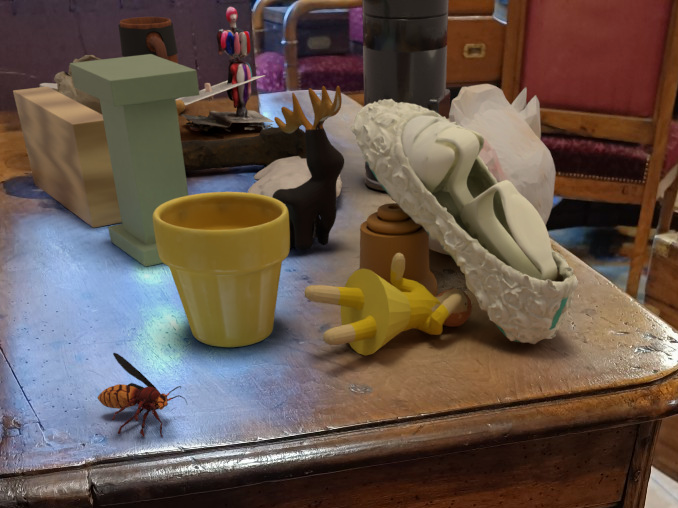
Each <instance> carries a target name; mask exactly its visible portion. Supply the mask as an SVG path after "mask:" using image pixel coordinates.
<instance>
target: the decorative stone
mask: <svg viewBox="0 0 678 508" xmlns="http://www.w3.org/2000/svg"><path fill="white" fill-rule="evenodd" d="M311 177H312V176H311V173H310V171H309V169H308V166H307V161H306V159H301V158H300V157H299V156H293V157H288V158H282V159H278V160H276V161H274V162H272V163H271V164H270V165H268V166H267V167H264V168H262V169H261V170H259V171H258V172H256V173H255V174H254V176H253V179H254V181H255V182H254V183H253V184H251V186H250V187H249V188H248V191H247V193H254V194H260V195H265V196H269V197H272V198H273V194H274V193H275V191H277V190H279V189H290V188H296V187H298V186H300V185H302V184H304V183H305V182H307V181H308V180H309V179H310V178H311ZM342 188H343V181H342V180H341V174H340V175H339V176H338V178H337V182H336V198H338V197H339V196H340V195H341V189H342Z"/></svg>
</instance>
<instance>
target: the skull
mask: <svg viewBox="0 0 678 508" xmlns="http://www.w3.org/2000/svg"><path fill="white" fill-rule="evenodd" d="M94 60H102V58H99V57H96V56H95V55H94V54H85V55H84V56H81V58H74V59H73V61H72V63H76V62H85V61H94ZM53 80H54V82H55V84H56V83H57V88H58V89H55V88H53V90H55V91H57V92H59V93H61V94H63V95H65V96H67V97H69V98H71V99H73V100H75V101H77V102H79V103H80V104H82V105H84V106H86V107H88V108H90V109H92V110H94V111H96V112H98V113H100V114H102V110H101V104H100V99H98V98H96V97H94V96H91V95H89V94H87V93H85V92H83V91H81V90H79V89H77V88H75V87H74V83H73V78H72V72H71V67H70V64H69V65H68V72H66V71H60V72H57V73H56V74H55V76H54V78H53Z"/></svg>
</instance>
